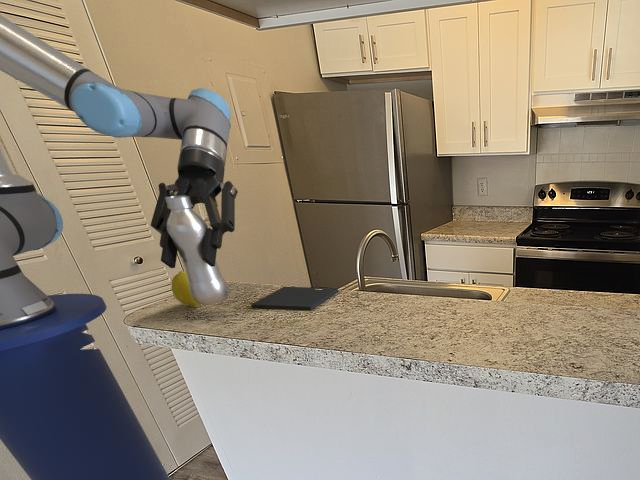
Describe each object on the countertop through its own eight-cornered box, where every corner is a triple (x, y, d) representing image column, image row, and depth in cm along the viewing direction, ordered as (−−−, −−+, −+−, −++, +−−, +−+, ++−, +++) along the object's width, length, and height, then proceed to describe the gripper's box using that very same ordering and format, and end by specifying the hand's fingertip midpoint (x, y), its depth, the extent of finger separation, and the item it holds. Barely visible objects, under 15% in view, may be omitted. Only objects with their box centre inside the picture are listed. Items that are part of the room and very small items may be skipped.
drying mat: (251, 307, 86) (250, 304, 86) (284, 289, 97) (283, 286, 96) (311, 310, 84) (310, 306, 84) (338, 291, 94) (338, 288, 94)
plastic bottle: (209, 310, 78) (170, 199, 68) (187, 305, 81) (146, 198, 71) (239, 299, 83) (206, 195, 74) (217, 295, 86) (183, 194, 76)
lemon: (174, 312, 85) (158, 275, 82) (190, 303, 90) (176, 267, 86) (200, 311, 85) (186, 274, 82) (215, 302, 90) (202, 267, 86)
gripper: (261, 173, 85) (252, 271, 79) (165, 176, 84) (148, 275, 77) (243, 145, 78) (231, 250, 71) (137, 147, 77) (116, 254, 70)
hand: (188, 263), depth 74 cm, fingers closed on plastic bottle, 6 cm apart
